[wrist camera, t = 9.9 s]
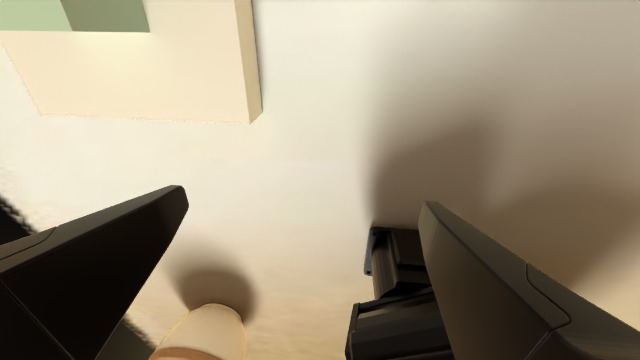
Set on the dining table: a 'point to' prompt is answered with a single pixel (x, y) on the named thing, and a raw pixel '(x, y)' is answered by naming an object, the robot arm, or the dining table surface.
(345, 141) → the dining table surface
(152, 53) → the cream square slab
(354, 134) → the dining table surface
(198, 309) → the lidded jar
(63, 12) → the green cube
